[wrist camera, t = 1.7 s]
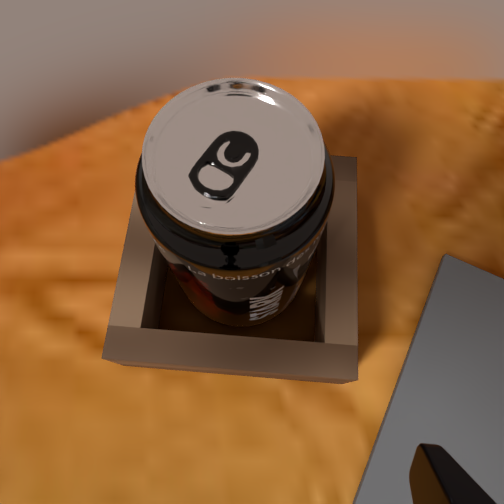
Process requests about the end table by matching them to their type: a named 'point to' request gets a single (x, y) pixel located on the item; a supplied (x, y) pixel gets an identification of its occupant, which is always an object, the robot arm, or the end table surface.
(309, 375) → the pocket frame
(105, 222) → the end table surface
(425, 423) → the slate mat
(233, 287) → the beverage can
